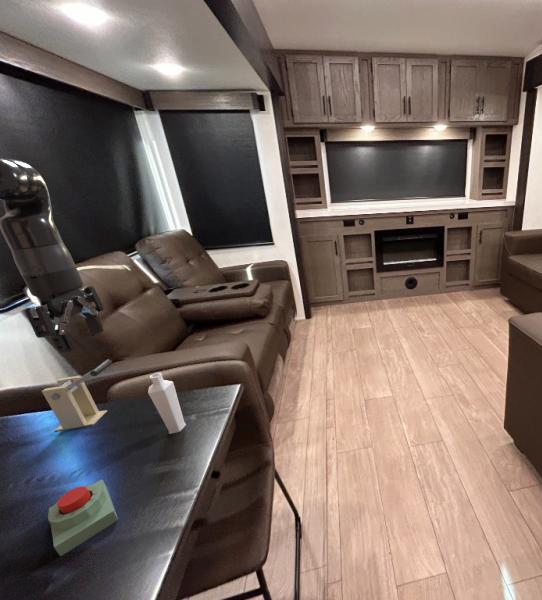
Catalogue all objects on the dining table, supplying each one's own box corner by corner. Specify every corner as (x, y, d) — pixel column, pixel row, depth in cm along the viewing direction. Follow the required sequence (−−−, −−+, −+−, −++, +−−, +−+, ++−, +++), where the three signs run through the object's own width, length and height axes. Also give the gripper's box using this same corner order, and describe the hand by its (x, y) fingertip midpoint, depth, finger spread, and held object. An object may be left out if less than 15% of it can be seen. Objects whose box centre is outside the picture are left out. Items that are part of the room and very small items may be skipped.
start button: (60, 505, 52) (55, 498, 52) (89, 489, 55) (85, 482, 54) (63, 518, 50) (57, 511, 49) (93, 501, 53) (88, 494, 52)
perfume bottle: (175, 424, 74) (152, 369, 69) (193, 423, 74) (172, 368, 69) (160, 439, 70) (135, 382, 65) (179, 438, 70) (156, 381, 65)
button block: (54, 517, 54) (43, 500, 53) (106, 487, 59) (98, 471, 58) (60, 556, 48) (48, 539, 47) (118, 519, 53) (109, 503, 52)
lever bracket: (110, 412, 80) (90, 372, 76) (93, 429, 75) (71, 387, 71) (74, 418, 79) (52, 378, 75) (54, 435, 74) (30, 393, 69)
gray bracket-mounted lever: (115, 364, 76) (107, 356, 75) (100, 375, 71) (91, 368, 70) (73, 389, 76) (64, 382, 75) (56, 402, 72) (46, 395, 71)
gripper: (57, 262, 68) (88, 329, 74) (-11, 280, 55) (33, 361, 61) (96, 258, 69) (124, 325, 75) (38, 276, 56) (77, 355, 62)
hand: (83, 341), depth 68 cm, fingers open, 8 cm apart
